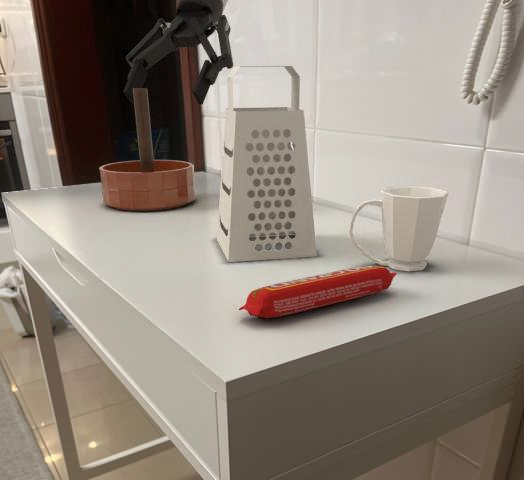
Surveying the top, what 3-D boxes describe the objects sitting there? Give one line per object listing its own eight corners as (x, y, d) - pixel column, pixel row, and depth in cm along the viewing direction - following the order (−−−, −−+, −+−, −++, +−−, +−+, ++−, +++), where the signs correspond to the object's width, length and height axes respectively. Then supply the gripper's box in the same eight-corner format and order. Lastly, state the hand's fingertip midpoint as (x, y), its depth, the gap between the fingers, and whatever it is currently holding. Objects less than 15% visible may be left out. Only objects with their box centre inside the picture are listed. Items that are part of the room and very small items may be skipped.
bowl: (100, 197, 99) (96, 162, 96) (185, 192, 103) (182, 158, 101) (108, 215, 86) (103, 175, 83) (204, 208, 90) (202, 169, 88)
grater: (316, 256, 65) (323, 65, 57) (228, 262, 64) (221, 65, 55) (294, 234, 75) (297, 67, 66) (216, 238, 73) (208, 67, 64)
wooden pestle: (138, 198, 95) (126, 88, 88) (159, 196, 96) (149, 88, 89) (141, 201, 92) (129, 88, 85) (162, 200, 93) (153, 88, 86)
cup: (444, 276, 59) (455, 197, 55) (348, 273, 59) (353, 196, 56) (432, 256, 65) (442, 185, 61) (346, 255, 66) (350, 184, 62)
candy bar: (373, 284, 56) (376, 255, 55) (399, 295, 54) (402, 265, 52) (234, 317, 49) (233, 284, 48) (255, 331, 46) (255, 297, 45)
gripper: (274, 17, 97) (236, 115, 91) (154, 23, 106) (114, 113, 101) (260, -24, 90) (219, 79, 84) (134, -14, 100) (90, 80, 94)
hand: (162, 98), depth 93 cm, fingers open, 13 cm apart
